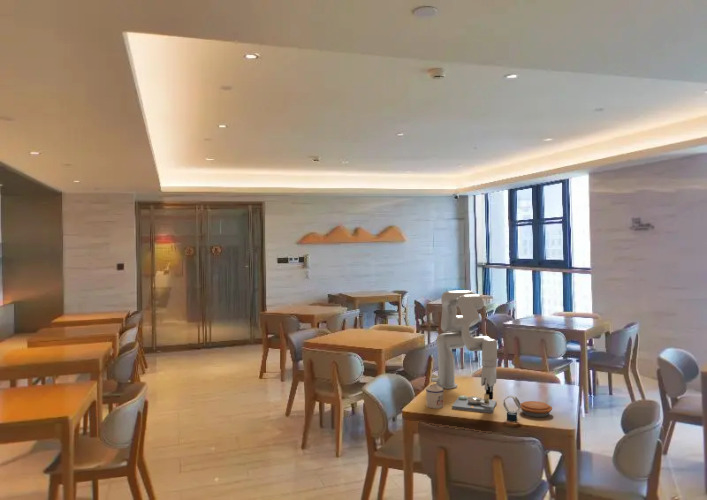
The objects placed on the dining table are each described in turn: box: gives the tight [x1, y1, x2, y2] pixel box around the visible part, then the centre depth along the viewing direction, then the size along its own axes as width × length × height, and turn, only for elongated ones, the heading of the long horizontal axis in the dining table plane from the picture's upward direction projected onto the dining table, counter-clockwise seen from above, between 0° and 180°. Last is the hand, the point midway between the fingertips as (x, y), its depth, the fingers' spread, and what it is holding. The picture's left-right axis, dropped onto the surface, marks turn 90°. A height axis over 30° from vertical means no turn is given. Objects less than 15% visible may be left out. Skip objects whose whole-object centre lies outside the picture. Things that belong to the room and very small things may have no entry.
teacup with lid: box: [425, 382, 444, 409], centre depth 274 cm, size 12×9×12 cm
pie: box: [520, 400, 553, 418], centre depth 259 cm, size 16×16×5 cm
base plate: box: [451, 395, 497, 414], centre depth 272 cm, size 20×18×3 cm
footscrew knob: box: [467, 393, 490, 406], centre depth 270 cm, size 13×7×6 cm, turn 35°
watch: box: [502, 395, 521, 422], centre depth 251 cm, size 6×8×11 cm
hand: (489, 398), depth 269 cm, fingers closed
